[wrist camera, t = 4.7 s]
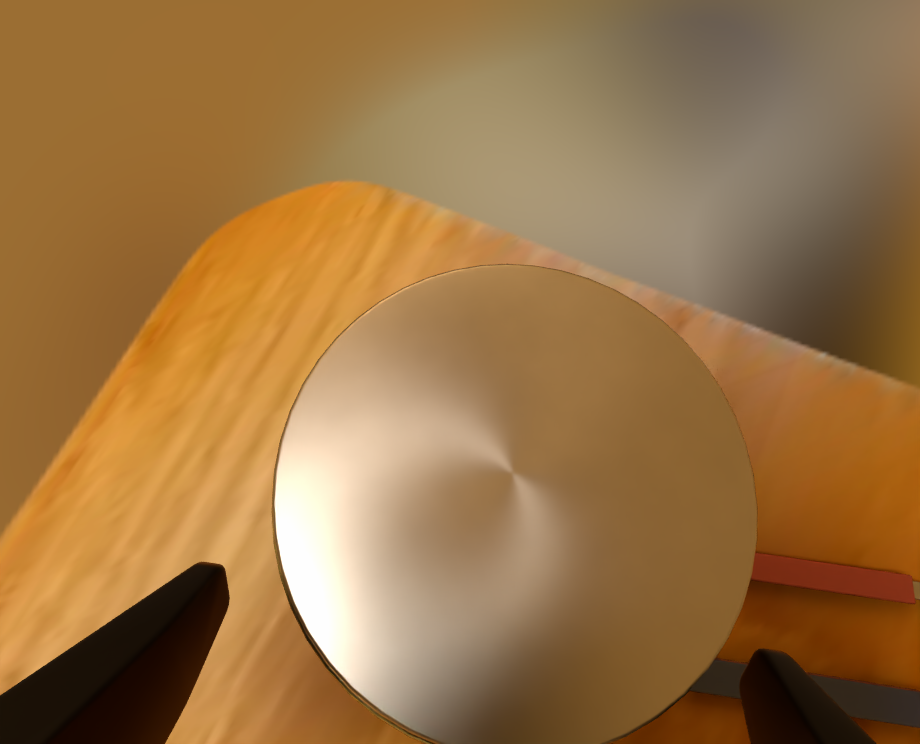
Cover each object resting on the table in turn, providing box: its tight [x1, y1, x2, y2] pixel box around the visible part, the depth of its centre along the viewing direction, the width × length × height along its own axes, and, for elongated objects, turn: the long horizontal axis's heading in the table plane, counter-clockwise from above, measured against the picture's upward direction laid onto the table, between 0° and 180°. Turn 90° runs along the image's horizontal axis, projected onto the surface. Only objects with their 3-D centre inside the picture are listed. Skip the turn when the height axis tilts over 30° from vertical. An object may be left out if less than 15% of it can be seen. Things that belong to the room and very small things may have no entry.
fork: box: [689, 658, 920, 728], centre depth 16 cm, size 17×2×1 cm, turn 82°
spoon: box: [750, 553, 920, 604], centre depth 17 cm, size 15×3×1 cm, turn 82°
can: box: [272, 264, 757, 744], centre depth 12 cm, size 7×7×12 cm
